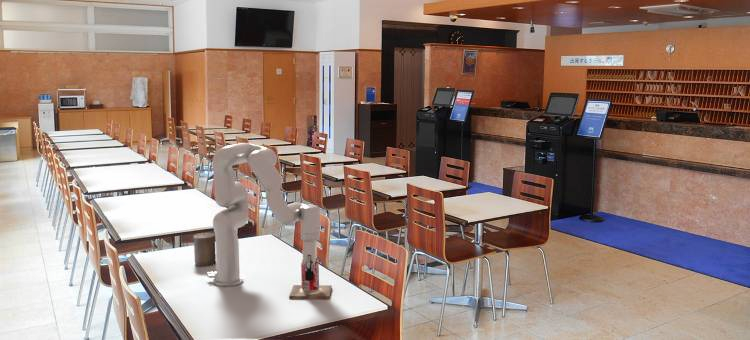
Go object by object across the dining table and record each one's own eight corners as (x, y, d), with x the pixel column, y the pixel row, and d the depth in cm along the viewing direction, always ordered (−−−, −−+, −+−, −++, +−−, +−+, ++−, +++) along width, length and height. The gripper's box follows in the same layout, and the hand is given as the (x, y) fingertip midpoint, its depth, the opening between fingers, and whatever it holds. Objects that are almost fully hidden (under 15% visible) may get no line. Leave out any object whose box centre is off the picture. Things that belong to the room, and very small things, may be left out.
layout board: (289, 298, 257) (289, 295, 257) (293, 287, 270) (293, 284, 270) (329, 299, 257) (329, 296, 257) (331, 288, 270) (331, 285, 270)
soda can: (316, 293, 259) (316, 262, 257) (299, 292, 261) (298, 261, 259) (321, 287, 266) (321, 257, 264) (304, 286, 268) (304, 256, 266)
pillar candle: (220, 262, 304) (219, 231, 302) (204, 267, 296) (203, 236, 294) (205, 259, 310) (204, 229, 307) (190, 264, 301) (188, 233, 299)
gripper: (303, 230, 268) (304, 269, 271) (298, 241, 251) (298, 283, 254) (321, 230, 268) (321, 269, 271) (317, 241, 251) (317, 283, 254)
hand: (310, 276), depth 262 cm, fingers open, 9 cm apart
